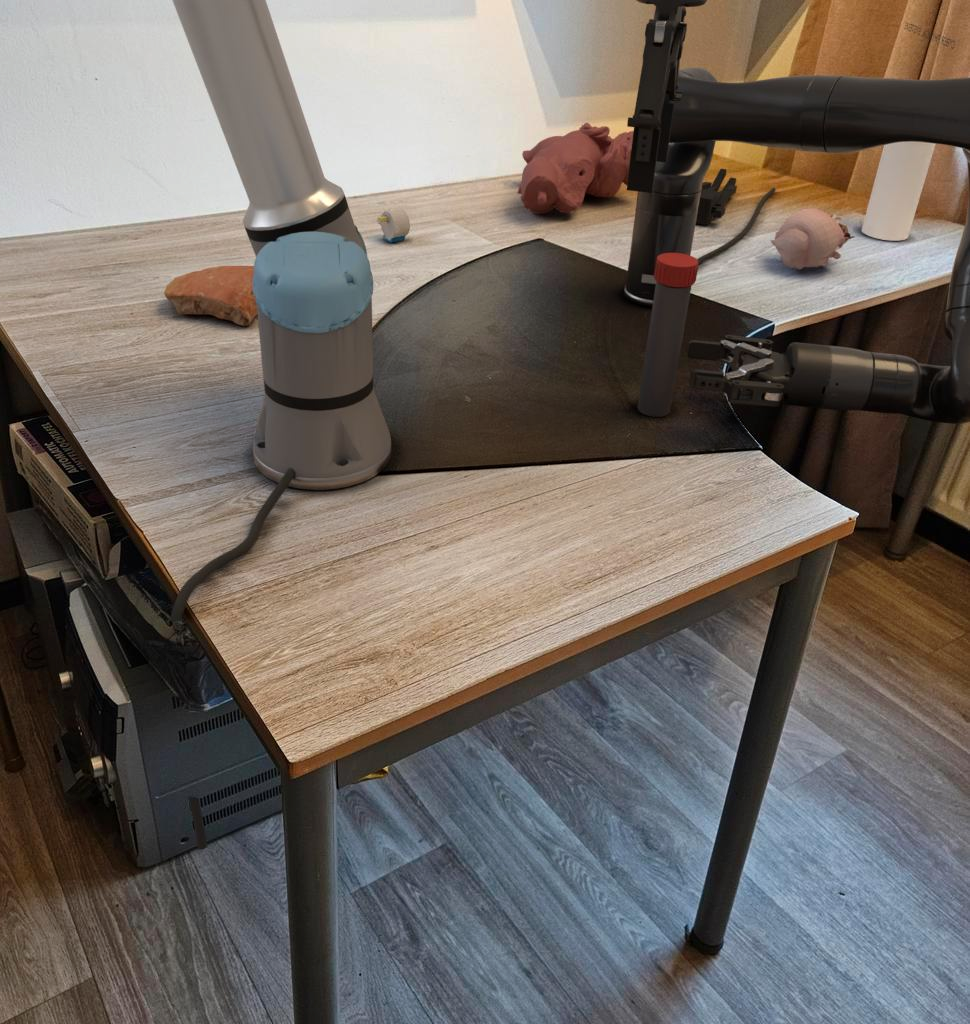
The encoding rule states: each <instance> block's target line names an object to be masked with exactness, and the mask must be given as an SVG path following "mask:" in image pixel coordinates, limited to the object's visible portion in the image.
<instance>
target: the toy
mask: <svg viewBox="0 0 970 1024" xmlns="http://www.w3.org/2000/svg"><path fill="white" fill-rule="evenodd" d="M842 221H843V220H842V217H840V216H838V215H837V214H835V213H833V214H831V215H830V214H828V213H827V212H826V211H823V210H820V209H817V208H802V209H799V210H797V211H796V212H793V213H792V214H791V215H790V216H789V217H787V218H786V219H785V220H784V221H783V223H782V224H781V226H780V227H779V229H778V231H775V236H774V239H770V240H769V241H770V243H771V244H772V245H773V247H775V249H776V250H777V251H776V252H778V254H779V256H780V258H781V260H782V262H783V264H785V266H787V267H788V268H791V269H796V270H797V271H798V270H799V271H800V270H801V271H802V270H803V269H804V268H817V269H819V267H820V266H821V268H824V267H826V266H828V264H829V260H830V259H832V258H833V259H835V260H839V259H841V257H842V254H840V253H839V252H838V250H840V249H842V248H843V246H844V245H845V244H846V243H847V242H848V241H849V240H852V239H854V238H855V236H851V233H850V231H849V228H848V224H847V223H842Z"/></svg>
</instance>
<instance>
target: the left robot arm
mask: <svg viewBox="0 0 970 1024" xmlns="http://www.w3.org/2000/svg"><path fill="white" fill-rule="evenodd" d="M171 1H172V3H173V6H174V8H175V11H176V13H177V17H178V19H179V21H180V24H181V27H182V30H183V32H184V34H185V37H186V40H187V42H188V45H189V47H190V51H191V53H192V55H193V58H194V61H195V63H196V65H197V68H198V71H199V74H200V76H201V79H202V81H203V84H204V87H205V89H206V92H207V94H208V97H209V99H210V102H211V105H212V107H213V110H214V112H215V113H214V114H215V115H216V118H217V121H218V123H219V126H220V128H221V131H222V133H223V136H224V138H225V141H226V144H227V147H228V149H229V152H230V154H231V157H232V160H233V162H234V164H235V167H236V170H237V172H238V175H239V177H240V181H241V183H242V186H243V188H244V191H245V194H246V196H247V199H248V202H249V203H248V204H249V205H248V207H247V209H246V211H245V214H244V216H243V218H242V224H243V226H244V230H245V232H246V235H247V237H248V240H249V242H250V245H251V248H252V250H253V253H254V255H255V259H254V263H253V266H254V275H253V282H252V286H253V293H254V296H255V299H256V304H257V314H256V316H257V324H258V325H257V326H258V334H259V335H258V336H259V346H260V356H261V368H262V379H263V388H264V390H263V391H264V396H263V400H262V404H261V408H260V412H259V415H258V419H257V423H256V427H255V430H254V434H253V439H252V441H253V442H252V455H253V460H254V464H255V467H256V468H257V470H258V471H259V472H260V473H261V474H262V475H263V476H265V477H266V478H268V479H269V480H271V481H273V482H275V483H277V485H275V488H274V489H273V490H272V492H271V493H270V495H269V496H268V498H267V499H266V501H265V502H264V503H263V504H262V506H261V507H260V509H259V511H258V512H257V514H256V515H255V517H254V520H253V522H252V525H251V527H250V530H249V533H248V535H247V536H246V538H245V539H244V540H243V541H242V542H241V543H240V544H238V545H236V547H234V548H232V549H230V550H229V551H226V552H224V553H222V554H221V555H219V556H217V557H215V558H214V559H212V560H210V561H209V562H208V563H206V564H205V565H204V566H203V567H202V568H201V569H199V570H197V571H196V572H195V573H194V574H193V575H192V576H190V577H189V578H188V580H187V581H185V583H184V584H183V586H182V587H181V589H180V590H179V592H178V594H177V596H176V599H175V601H174V604H173V607H172V610H171V613H170V621H172V622H177V621H180V620H181V619H182V618H183V616H184V613H185V609H186V606H187V604H188V602H189V599H190V597H191V595H192V593H193V591H194V590H195V589H196V588H197V587H198V586H199V585H200V584H202V583H203V582H204V581H205V580H206V579H208V578H209V577H210V576H211V575H213V573H215V572H216V571H218V570H219V569H220V568H222V567H224V566H226V565H227V564H230V563H232V562H233V561H235V560H237V559H238V558H241V557H242V556H243V555H245V554H246V553H248V552H249V551H250V549H251V548H253V546H254V545H255V543H256V542H257V541H258V539H259V538H260V535H261V531H262V529H263V525H264V523H265V522H266V520H267V517H268V516H269V515H270V512H271V511H272V510H273V508H274V507H275V505H276V504H277V503H278V501H279V500H280V498H281V496H282V495H283V494H284V492H285V491H286V489H287V488H288V487H290V488H295V489H301V490H312V491H314V490H315V491H323V490H327V491H328V490H337V489H342V488H348V487H351V486H355V485H358V484H361V483H363V482H366V481H368V480H370V479H373V478H374V477H375V476H377V475H378V474H380V473H381V472H382V471H383V470H384V469H385V468H386V467H387V466H388V464H389V463H390V461H391V458H392V437H391V432H390V430H389V427H388V424H387V422H386V419H385V417H384V413H383V411H382V408H381V406H380V403H379V400H378V398H377V395H376V393H375V385H374V341H373V340H374V339H373V338H374V336H373V294H374V276H373V271H372V270H371V263H370V259H369V257H368V251H367V246H366V244H365V240H364V237H363V235H362V233H360V231H359V229H358V227H357V225H356V224H355V222H354V218H353V215H352V213H351V209H350V206H349V204H348V200H347V198H346V194H345V191H344V190H343V188H342V186H340V185H337V184H336V183H333V182H332V181H330V180H328V179H327V178H326V177H325V174H324V172H323V168H322V166H321V163H320V159H319V157H318V154H317V151H316V147H315V144H314V141H313V139H312V136H311V133H310V130H309V126H308V124H307V121H306V117H305V115H304V111H303V109H302V104H301V101H300V99H299V96H298V93H297V90H296V86H295V85H294V81H293V78H292V75H291V72H290V70H289V66H288V63H287V60H286V57H285V54H284V51H283V48H282V44H281V43H280V39H279V36H278V32H277V30H276V27H275V24H274V21H273V18H272V14H271V11H270V9H269V5H268V3H267V1H266V0H171ZM636 2H638V3H641V4H645V5H654V6H655V10H654V12H653V13H654V14H653V18H649V19H648V22H647V23H646V25H645V29H644V42H645V43H644V48H643V52H642V64H641V70H640V77H639V83H638V88H637V94H636V101H635V107H634V113H633V115H632V117H627V123H626V124H627V125H626V126H627V128H633V131H634V132H633V140H632V148H631V157H630V165H629V174H628V182H627V185H626V191H630V192H637V193H638V192H647V193H652V191H653V183H654V176H655V168H656V161H658V162H666V160H667V153H668V146H669V139H670V132H671V125H672V117H673V110H674V103H673V102H670V101H679V102H680V101H681V96H682V92H681V91H677V89H678V85H679V84H678V75H679V70H680V65H681V64H680V63H681V59H682V56H683V55H682V54H683V50H684V42H685V40H686V36H687V31H688V23H685V17H686V16H687V8H695V7H697V8H698V7H701V6H704V5H705V4H706V3H707V2H708V0H636ZM187 798H188V803H189V808H190V812H191V816H192V822H193V827H194V832H195V838H196V844H197V849H198V850H203V851H204V850H205V849H207V847H208V842H207V837H206V836H207V835H206V830H205V823H204V818H203V813H202V808H201V803H200V798H199V797H195V796H189V795H188V797H187Z"/></svg>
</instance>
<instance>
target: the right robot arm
mask: <svg viewBox="0 0 970 1024" xmlns="http://www.w3.org/2000/svg"><path fill="white" fill-rule="evenodd" d="M678 84H679V85H678V89H677V91H681V92H682V96H681V101H680V102H679V101H670V102H673V103H674V110H673V117H672V125H671V132H670V139H669V146H668V153H667V160H666V162H658V161H656V168H655V176H654V183H653V191H652V193H647V192H638V191H637V196H636V204H635V213H634V218H633V219H634V220H633V227H632V235H631V242H630V249H629V250H630V251H629V257H628V264H627V272H626V273H627V274H626V281H625V285H624V289H623V295H624V297H625V298H626V299H627V300H629V301H630V302H632V303H634V304H637V305H640V306H644V307H650V308H652V307H653V300H654V293H655V287H656V280H655V279H654V272H655V265H656V261H657V257H658V256H659V255H660V254H664V253H682V254H686V255H690V256H692V255H691V254H692V248H693V242H694V237H695V231H696V224H697V223H696V219H697V213H698V207H699V201H700V195H701V189H702V184H703V182H704V180H705V177H706V175H707V173H708V171H709V169H710V166H711V163H712V160H713V157H714V156H713V155H714V151H715V146H716V143H717V142H735V143H742V144H747V145H754V146H759V147H768V148H775V149H783V150H791V151H798V152H807V153H821V154H833V155H835V154H836V155H842V154H844V155H845V154H854V153H860V152H863V151H867V150H868V151H869V150H872V149H876V148H879V147H882V146H883V147H884V145H888V144H892V143H898V142H925V143H934V144H936V145H942V146H950V147H955V148H959V149H961V150H962V152H963V154H964V156H965V158H966V162H967V164H966V165H967V177H968V179H967V180H968V200H967V201H968V202H967V210H966V218H965V222H964V227H963V232H962V235H961V238H960V242H959V245H958V247H957V251H956V254H955V258H954V262H953V265H952V269H951V274H950V279H949V286H948V293H947V299H946V307H945V316H944V327H943V328H944V333H945V335H946V337H947V338H948V339H949V340H951V361H950V365H936V364H935V365H934V364H926V363H919V362H917V360H915V359H914V358H912V357H909V356H906V355H901V354H894V353H885V352H875V351H866V350H862V349H858V348H853V347H847V346H836V345H826V344H818V343H806V342H797V341H793V342H791V343H790V344H788V346H787V348H786V350H785V352H783V353H780V352H778V351H777V352H776V351H773V350H772V349H773V345H774V341H773V340H771V339H766V338H758V337H751V336H743V335H734V334H733V335H732V334H725V335H724V338H723V339H722V340H720V341H708V340H698V339H691V340H690V341H689V342H688V346H687V357H688V358H689V359H692V360H693V359H695V360H702V361H703V360H704V361H712V362H713V361H714V362H717V361H718V362H720V363H723V364H724V365H728V366H730V369H731V370H732V371H730V372H726V373H725V372H724V371H719V370H718V371H717V370H707V369H699V368H698V369H697V368H694V369H692V370H691V371H690V376H689V382H688V383H689V387H690V388H691V389H693V390H701V391H712V392H721V394H722V396H725V397H726V396H727V397H728V398H727V401H728V403H730V404H736V405H748V406H749V405H751V406H761V407H762V406H763V407H772V408H773V407H774V408H778V407H780V406H781V403H782V404H783V405H785V406H791V407H792V406H793V407H802V408H810V409H811V408H812V409H822V410H829V411H830V410H831V411H840V412H841V411H857V412H858V411H861V412H868V413H877V414H878V413H879V414H892V415H893V414H894V415H895V414H897V415H902V416H907V417H912V418H915V419H920V420H923V421H929V422H934V423H941V424H949V425H951V424H952V425H963V424H967V423H970V77H959V78H956V77H955V78H943V79H908V78H893V77H892V78H891V77H866V76H865V77H863V76H852V75H828V74H827V75H826V74H808V75H805V74H804V75H791V76H790V75H789V76H783V77H782V76H781V77H772V78H766V79H759V80H751V81H745V82H724V81H718V79H717V78H716V77H715V76H714V75H713V74H712V73H711V72H710V71H708V70H707V69H705V68H703V67H696V66H692V67H691V66H690V67H685V68H681V69H680V68H679V75H678ZM776 191H777V190H776V188H775V187H772V188H771V189H769V191H768V192H767V193H766V194H764V196H763V197H761V200H760V201H759V203H758V204H757V207H756V208H755V210H754V212H753V215H752V216H751V218H750V219H749V221H748V223H747V224H746V226H744V228H743V229H742V230H741V231H740V232H739V233H738V234H737V235H735V236H734V237H733V238H732V239H731V240H729V241H727V242H726V243H725V244H723V245H721V246H719V247H718V248H716V249H713V250H712V251H709V252H707V253H705V254H703V255H702V256H699V257H698V258H696V259H697V260H698V266H700V264H702V263H703V262H705V261H707V260H708V259H710V258H713V257H715V256H717V255H718V254H720V253H722V252H724V251H726V250H727V249H729V248H730V247H732V246H733V245H735V244H737V242H738V241H740V240H741V239H742V238H744V236H745V235H747V233H748V232H749V231H750V229H751V228H752V227H753V225H754V224H755V221H756V220H757V218H758V216H759V214H760V212H761V210H762V208H763V207H764V205H765V203H766V202H767V200H768V199H769V198H770V197H771V196H772V194H774V193H775V192H776Z"/></svg>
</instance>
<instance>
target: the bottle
mask: <svg viewBox="0 0 970 1024" xmlns="http://www.w3.org/2000/svg"><path fill="white" fill-rule="evenodd" d="M692 287H693V285H691V286H688V287H671V286H666V285H663V284H660V283H658V282H657V281H656V287H655V293H654V300H653V307H651V314H650V320H649V328H648V333H647V341H646V348H645V353H644V359H643V366H642V367H643V368H642V374H641V381H640V387H639V394H638V400H637V406H636V407H637V410H638V412H640V413H641V414H642V415H644V416H648V417H654V418H661V417H666V416H667V415H669V414H670V412H671V408H672V403H673V402H672V401H673V397H674V390H675V384H676V379H677V374H678V373H677V372H678V369H679V362H680V355H681V349H682V344H683V338H684V332H685V327H686V320H687V314H688V310H689V302H690V297H691V291H692Z"/></svg>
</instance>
